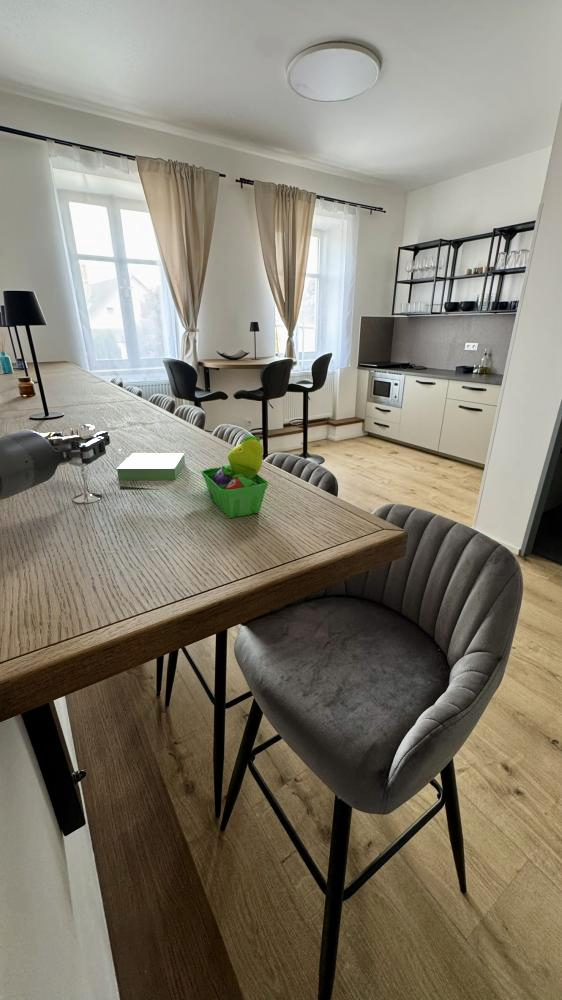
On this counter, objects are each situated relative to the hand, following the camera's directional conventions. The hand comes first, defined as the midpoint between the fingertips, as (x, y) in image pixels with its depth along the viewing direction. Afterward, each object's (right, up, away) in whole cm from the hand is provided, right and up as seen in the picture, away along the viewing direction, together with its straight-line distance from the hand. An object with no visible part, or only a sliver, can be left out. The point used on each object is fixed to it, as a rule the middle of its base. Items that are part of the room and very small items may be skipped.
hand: (89, 436), depth 68 cm
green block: (+8, -7, +10) cm, 15 cm away
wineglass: (-1, -10, +1) cm, 11 cm away
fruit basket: (+24, -12, 0) cm, 27 cm away
